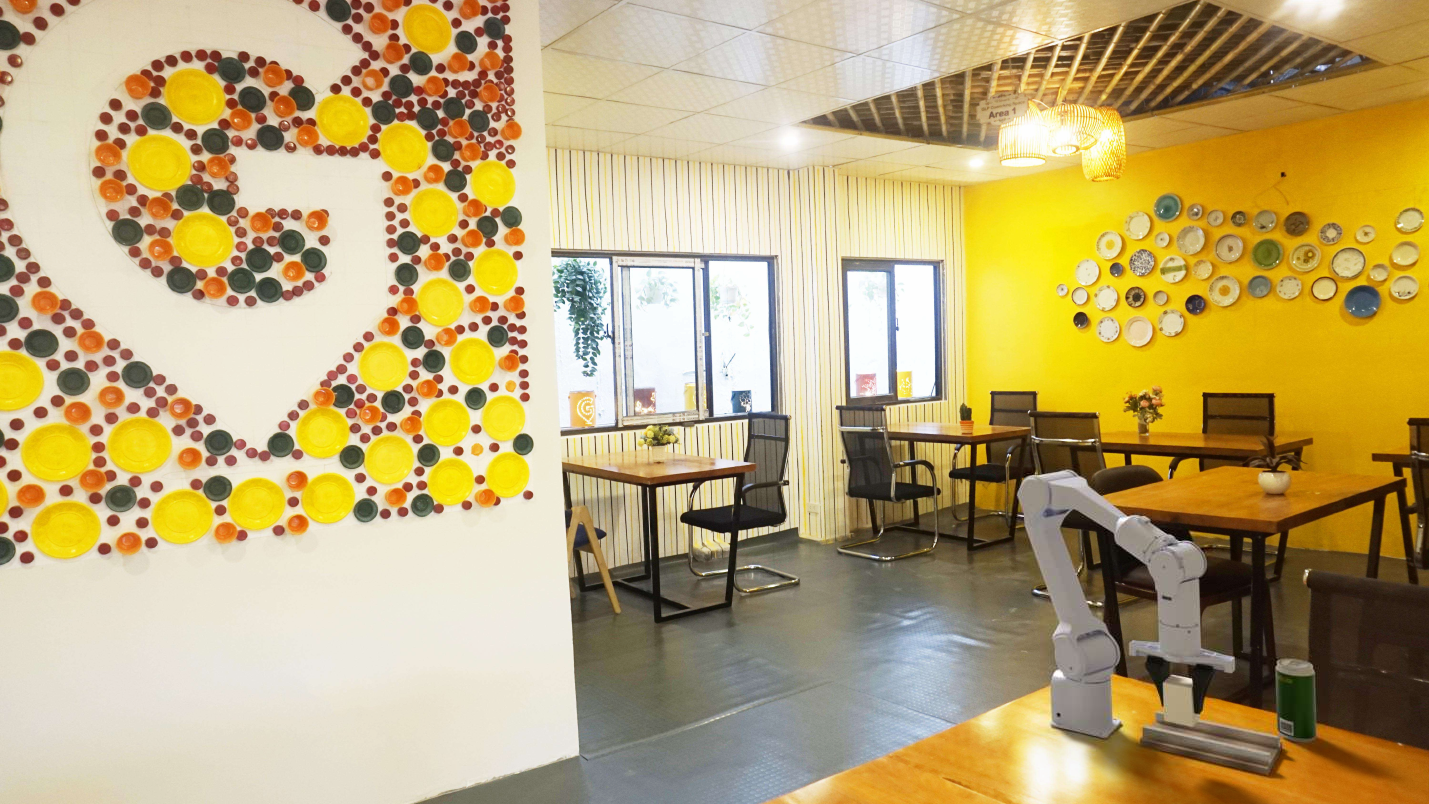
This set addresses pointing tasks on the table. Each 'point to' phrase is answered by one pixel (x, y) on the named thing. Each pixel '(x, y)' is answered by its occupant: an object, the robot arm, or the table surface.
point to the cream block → (1179, 701)
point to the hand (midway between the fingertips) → (1182, 708)
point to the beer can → (1296, 700)
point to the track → (1214, 743)
